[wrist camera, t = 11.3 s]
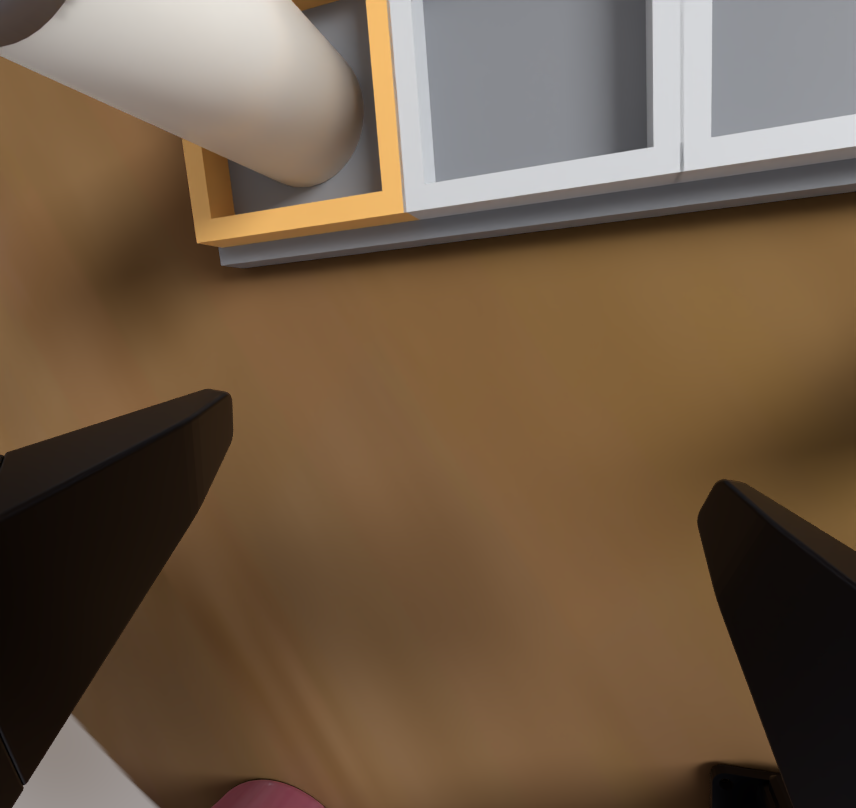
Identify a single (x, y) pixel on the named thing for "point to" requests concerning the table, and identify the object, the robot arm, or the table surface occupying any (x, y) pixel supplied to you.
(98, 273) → the table surface
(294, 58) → the white bottle
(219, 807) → the plant pot
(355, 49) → the board
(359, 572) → the table surface
